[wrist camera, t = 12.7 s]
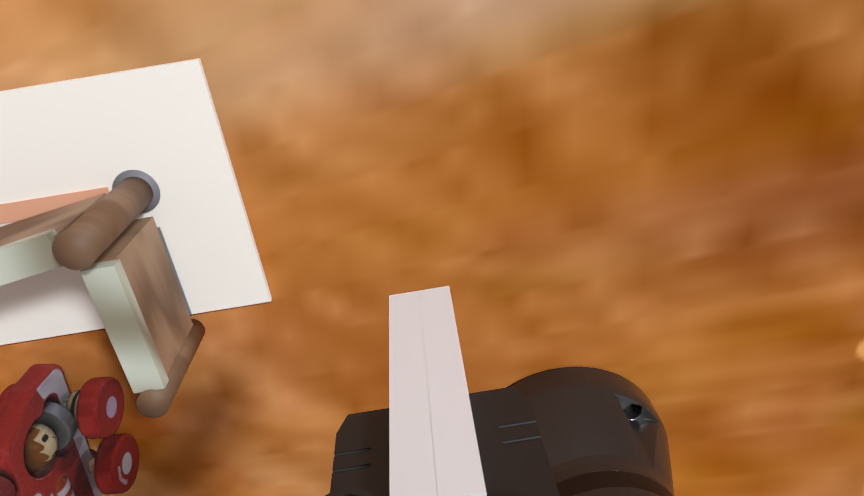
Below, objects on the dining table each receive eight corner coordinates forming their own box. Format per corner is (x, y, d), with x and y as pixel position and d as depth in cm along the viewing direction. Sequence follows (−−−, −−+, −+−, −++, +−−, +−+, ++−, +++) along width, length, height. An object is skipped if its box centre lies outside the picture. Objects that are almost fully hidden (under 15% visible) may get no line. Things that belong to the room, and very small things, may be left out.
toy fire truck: (110, 343, 44) (34, 451, 34) (149, 477, 49) (92, 602, 40) (7, 349, 43) (-98, 459, 34) (57, 483, 49) (-22, 611, 39)
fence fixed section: (209, 338, 44) (169, 426, 36) (181, 342, 44) (134, 431, 36) (149, 171, 39) (85, 230, 30) (117, 176, 39) (44, 237, 30)
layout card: (271, 298, 43) (270, 302, 42) (-3, 342, 43) (-7, 347, 42) (199, 58, 36) (197, 59, 35) (-127, 112, 36) (-134, 114, 36)
